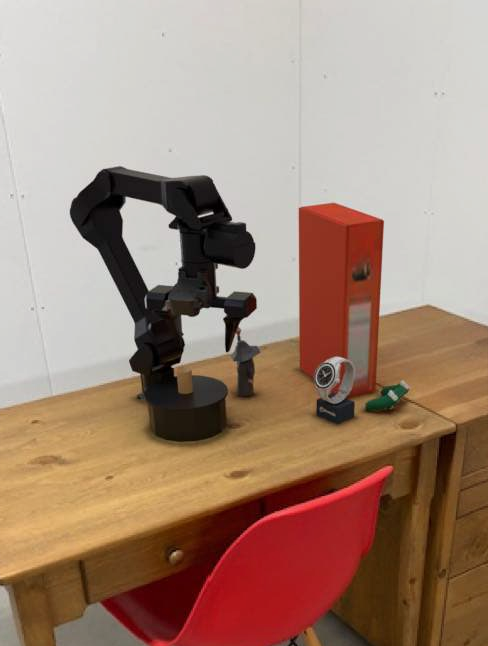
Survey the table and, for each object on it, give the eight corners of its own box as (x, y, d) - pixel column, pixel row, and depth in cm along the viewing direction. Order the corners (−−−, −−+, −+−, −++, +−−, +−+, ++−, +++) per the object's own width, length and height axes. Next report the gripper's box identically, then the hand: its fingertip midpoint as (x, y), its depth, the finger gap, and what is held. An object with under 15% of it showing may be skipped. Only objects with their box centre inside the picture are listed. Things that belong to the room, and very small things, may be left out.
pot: (135, 430, 142) (131, 396, 139) (188, 405, 151) (186, 373, 147) (189, 451, 135) (186, 416, 131) (242, 424, 144) (240, 391, 140)
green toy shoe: (373, 422, 148) (396, 406, 144) (361, 406, 147) (384, 389, 143) (393, 404, 154) (415, 388, 150) (381, 389, 154) (403, 372, 150)
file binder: (339, 399, 153) (345, 224, 135) (298, 369, 165) (298, 206, 148) (375, 391, 155) (385, 219, 138) (332, 363, 168) (336, 202, 151)
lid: (126, 400, 139) (123, 372, 136) (186, 374, 148) (184, 348, 146) (186, 422, 131) (184, 393, 128) (245, 394, 141) (244, 366, 138)
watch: (308, 418, 146) (309, 360, 140) (339, 405, 150) (341, 349, 144) (330, 427, 142) (331, 369, 136) (361, 414, 147) (363, 357, 141)
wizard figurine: (266, 395, 155) (265, 335, 148) (242, 402, 152) (240, 341, 145) (242, 382, 160) (240, 323, 154) (219, 388, 158) (216, 329, 151)
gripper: (125, 267, 128) (136, 359, 137) (233, 276, 124) (237, 371, 132) (154, 250, 137) (162, 338, 146) (256, 258, 132) (258, 348, 141)
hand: (203, 349), depth 141 cm, fingers open, 9 cm apart
